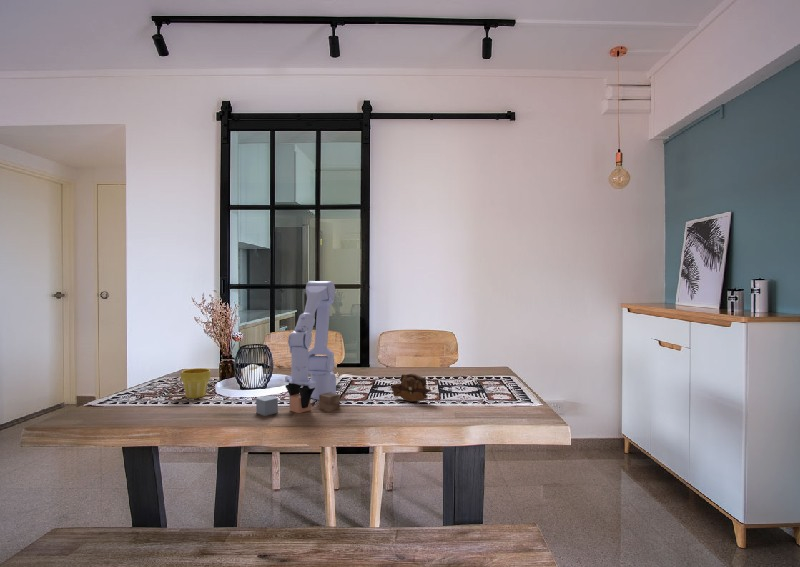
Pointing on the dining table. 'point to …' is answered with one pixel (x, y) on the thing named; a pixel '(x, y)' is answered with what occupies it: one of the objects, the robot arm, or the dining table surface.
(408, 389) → the wooden carving
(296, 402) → the terracotta block
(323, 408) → the walnut block
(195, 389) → the plant pot
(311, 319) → the robot arm
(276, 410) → the slate block
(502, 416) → the dining table surface
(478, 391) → the dining table surface
